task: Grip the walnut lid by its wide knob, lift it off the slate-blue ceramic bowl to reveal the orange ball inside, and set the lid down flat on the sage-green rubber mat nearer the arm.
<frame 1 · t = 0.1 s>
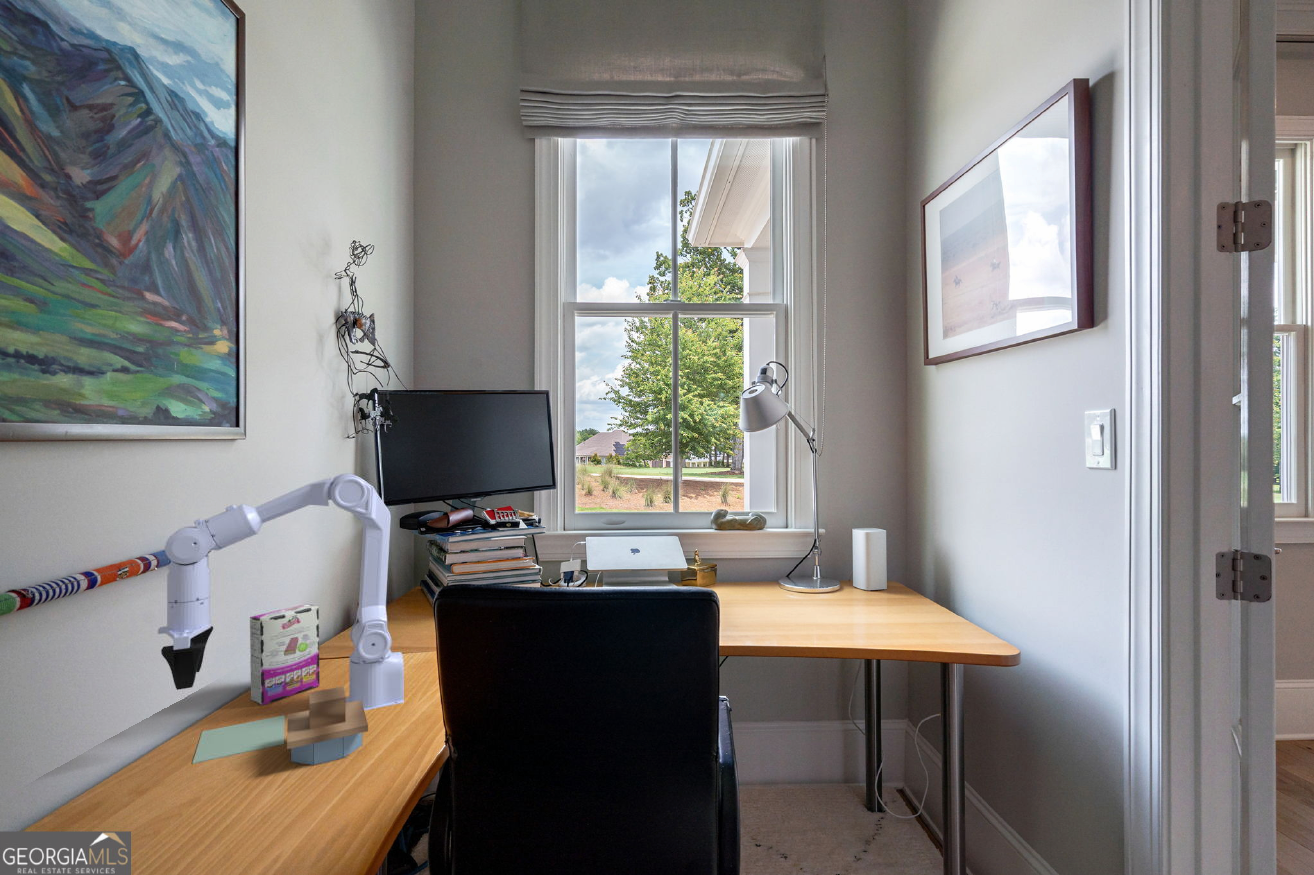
hand: (188, 680, 102), 10 cm above the table, tool pointing down, fingers open, 7 cm apart
candy bar box: (285, 694, 122), on the table
bowl: (326, 750, 99), on the table
mat: (242, 740, 102), on the table
orange ball: (326, 747, 99), resting on bowl
lid: (327, 725, 99), point 4 cm above the table, touching bowl
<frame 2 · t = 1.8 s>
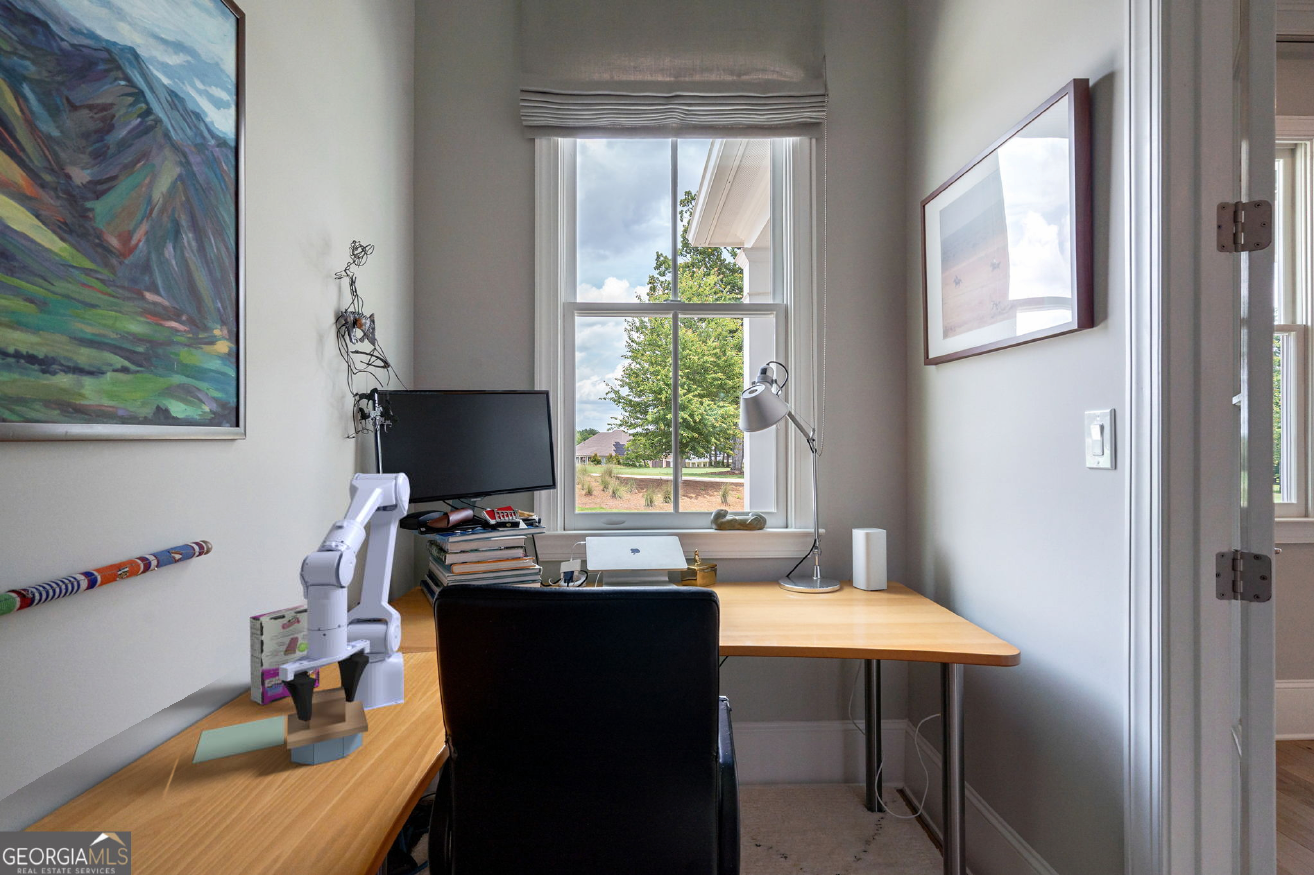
hand: (327, 710, 99), 7 cm above the table, tool pointing down, fingers open, 7 cm apart
nothing on the table moved.
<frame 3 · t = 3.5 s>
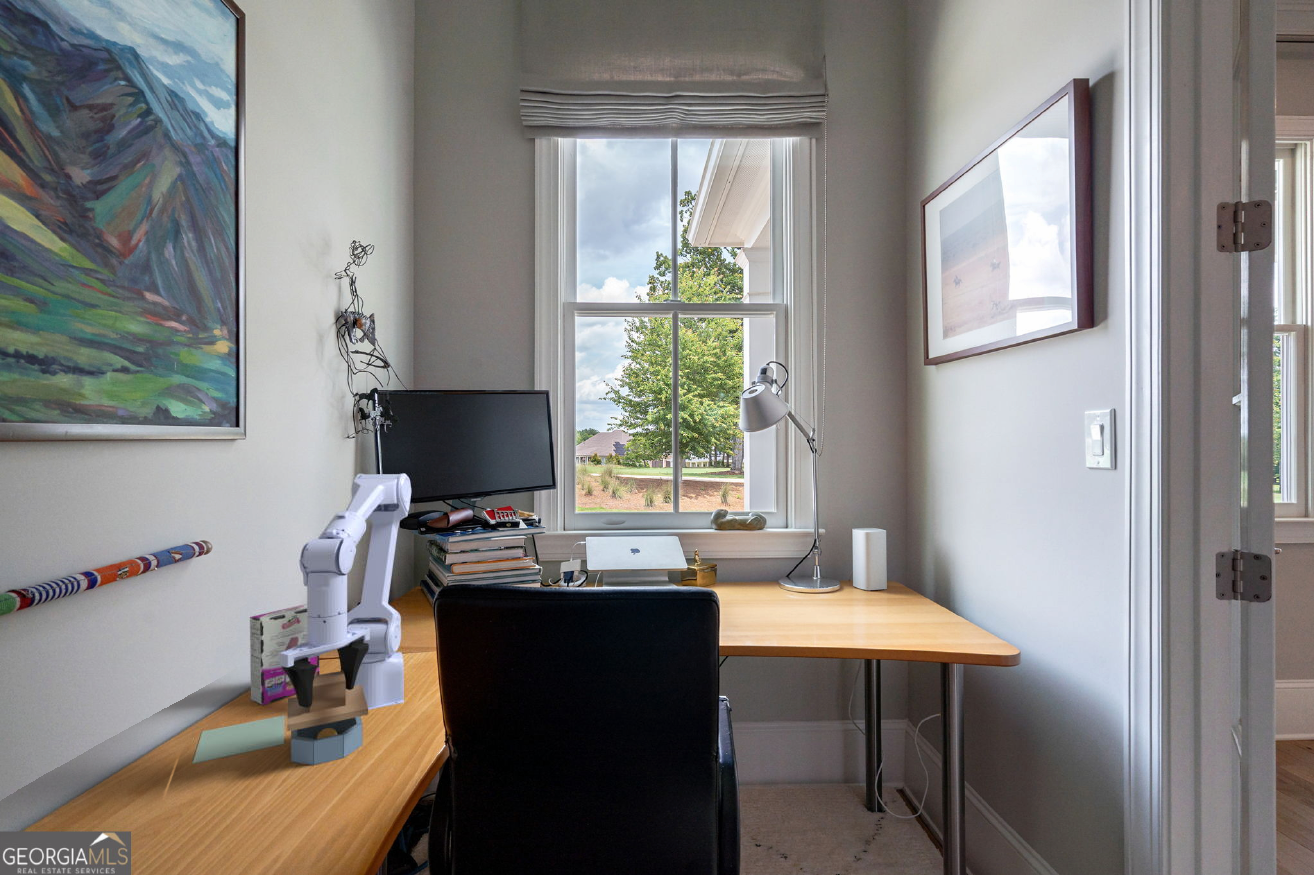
hand: (327, 697, 99), 9 cm above the table, tool pointing down, fingers closed on lid, 7 cm apart
lid: (327, 709, 99), point 7 cm above the table, touching gripper
everything else where it was.
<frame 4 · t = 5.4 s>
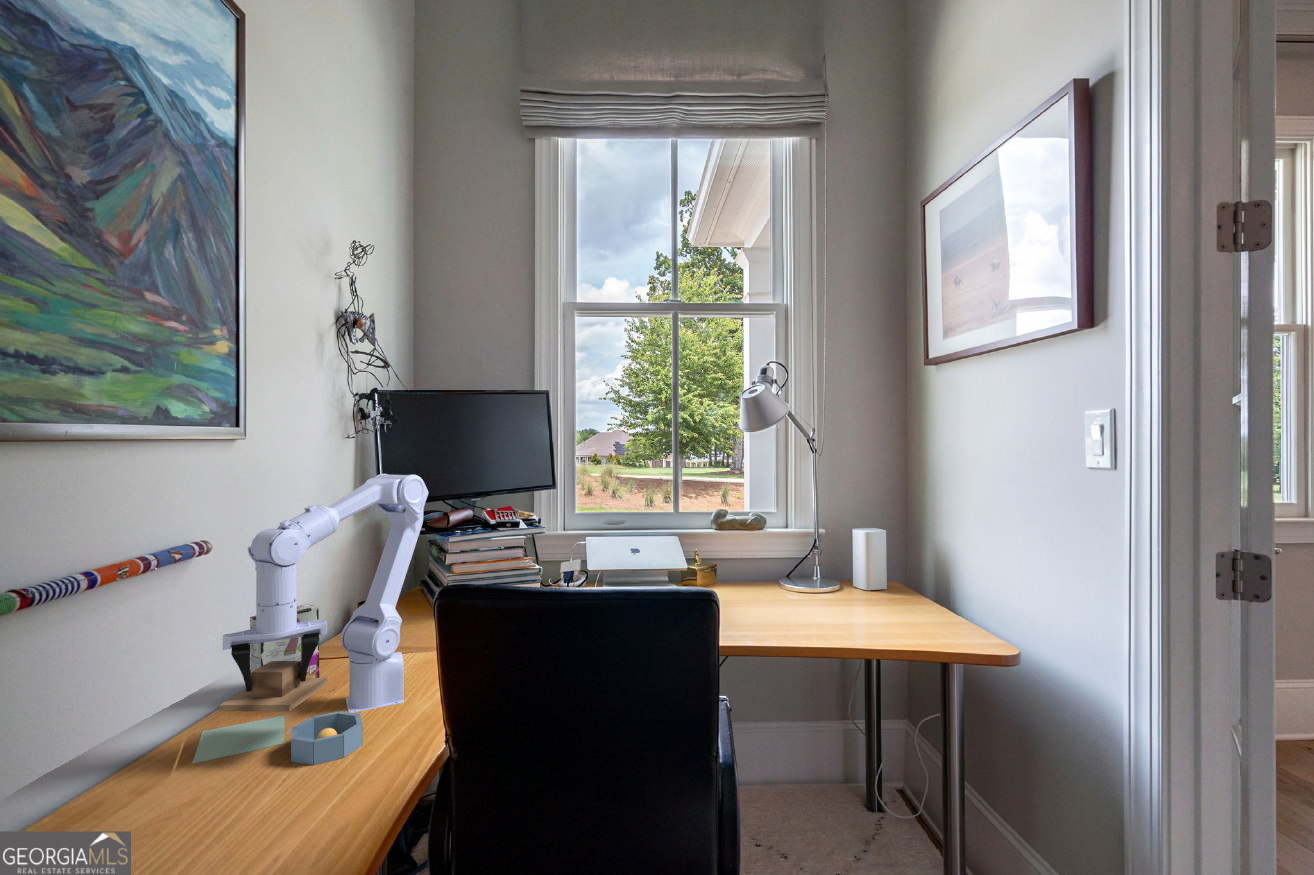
hand: (276, 684, 101), 10 cm above the table, tool pointing down, fingers closed on lid, 7 cm apart
lid: (276, 696, 101), point 8 cm above the table, touching gripper
everything else where it was.
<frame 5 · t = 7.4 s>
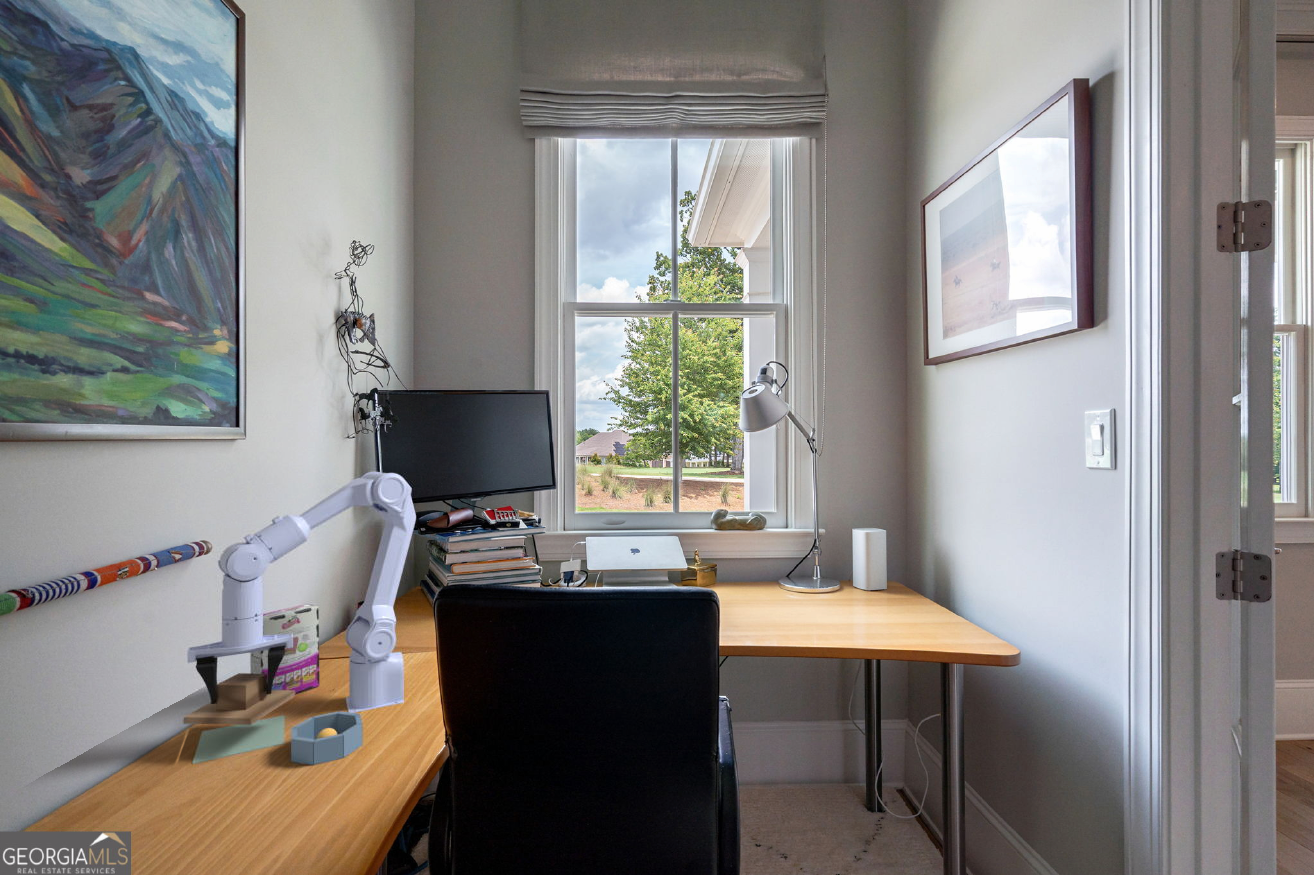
hand: (242, 697, 102), 7 cm above the table, tool pointing down, fingers closed on lid, 7 cm apart
lid: (242, 709, 102), point 5 cm above the table, touching gripper
everything else where it was.
when the fingers open (4 cm above the table, at t = 8.9 s): lid drops 1 cm, resting on mat.
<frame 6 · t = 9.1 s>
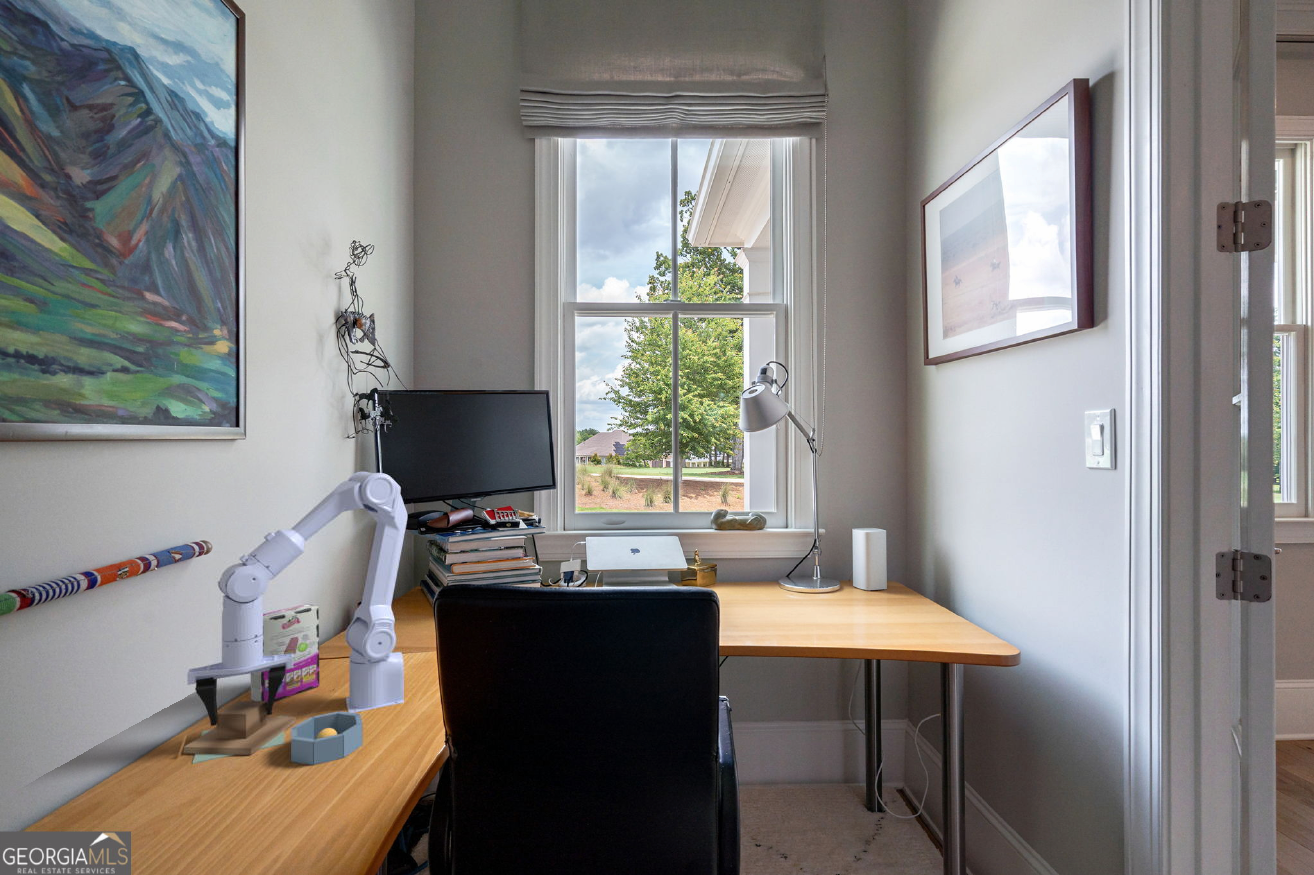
hand: (242, 718, 102), 4 cm above the table, tool pointing down, fingers open, 7 cm apart
lid: (242, 737, 102), point 1 cm above the table, touching mat
everything else where it was.
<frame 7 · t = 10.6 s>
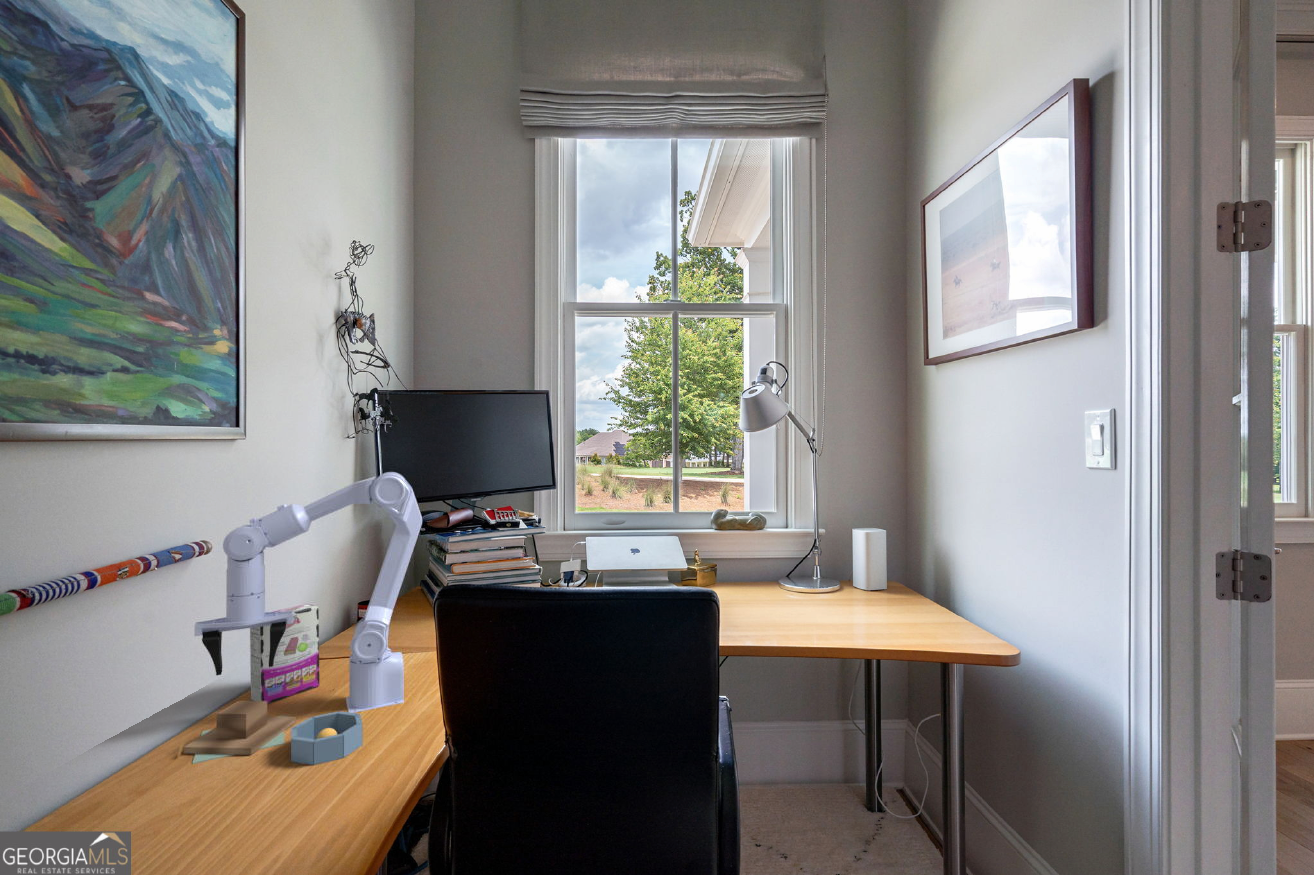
hand: (245, 669, 109), 9 cm above the table, tool pointing down, fingers open, 7 cm apart
nothing on the table moved.
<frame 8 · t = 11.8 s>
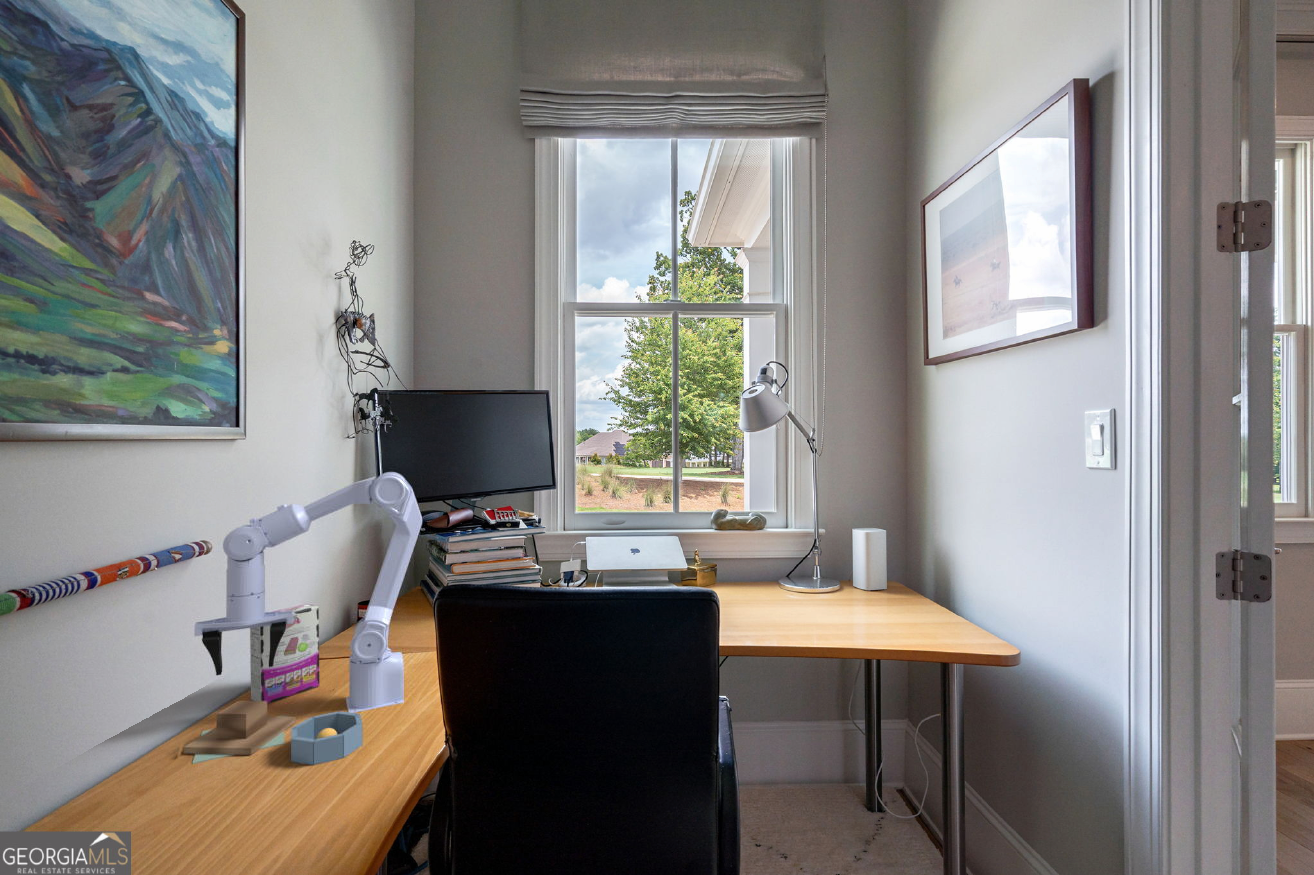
hand: (245, 669, 109), 9 cm above the table, tool pointing down, fingers open, 7 cm apart
nothing on the table moved.
at the end: lid inside the target area on the mat (0.0 cm from its centre), point 0.6 cm above the mat's base; lid tilted 0°; the gripper is holding nothing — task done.
